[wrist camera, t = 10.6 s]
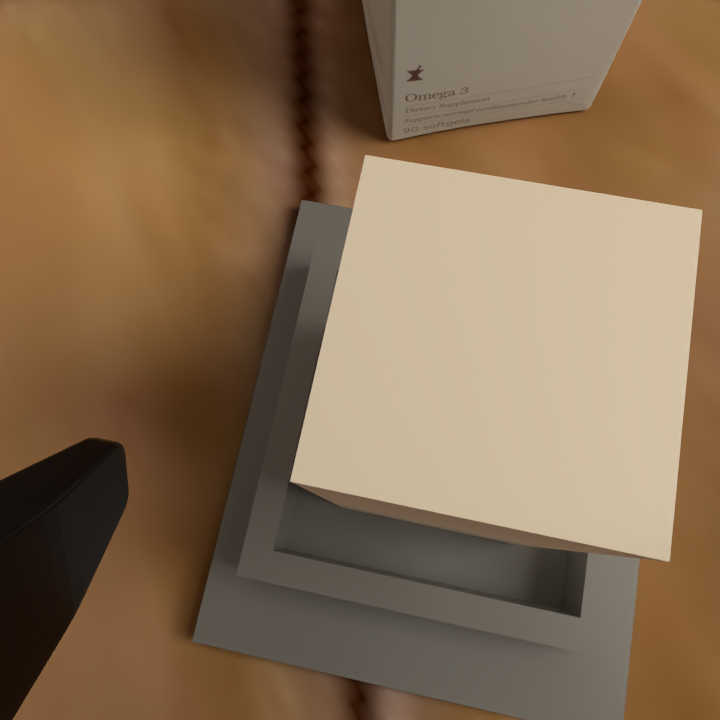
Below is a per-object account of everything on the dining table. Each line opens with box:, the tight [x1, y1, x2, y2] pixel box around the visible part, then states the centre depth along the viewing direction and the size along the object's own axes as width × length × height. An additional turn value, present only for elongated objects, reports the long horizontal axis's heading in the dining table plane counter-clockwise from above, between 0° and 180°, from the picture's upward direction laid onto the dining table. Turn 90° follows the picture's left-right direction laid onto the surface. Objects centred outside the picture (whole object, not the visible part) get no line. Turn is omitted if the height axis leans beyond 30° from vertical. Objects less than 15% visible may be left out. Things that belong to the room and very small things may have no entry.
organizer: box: [192, 200, 640, 720], centre depth 19 cm, size 14×12×3 cm
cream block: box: [290, 155, 702, 562], centre depth 15 cm, size 5×5×11 cm
